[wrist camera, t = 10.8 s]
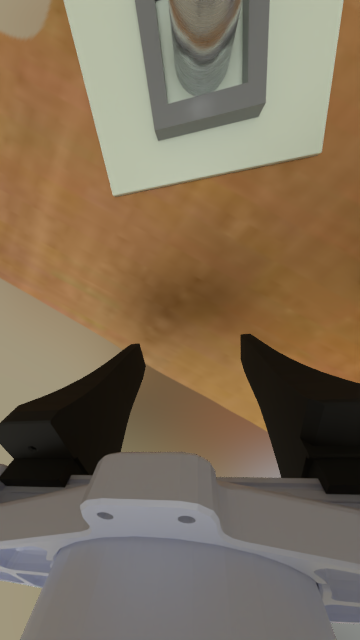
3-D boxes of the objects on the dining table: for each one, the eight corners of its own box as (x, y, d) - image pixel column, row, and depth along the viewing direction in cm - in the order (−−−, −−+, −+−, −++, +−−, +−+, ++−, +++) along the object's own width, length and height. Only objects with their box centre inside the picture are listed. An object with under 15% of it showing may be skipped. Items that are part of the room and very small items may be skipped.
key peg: (229, -2, 11) (263, -228, 6) (232, 87, 13) (261, -24, 7) (169, 21, 12) (149, -167, 6) (179, 104, 13) (170, 11, 8)
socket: (366, -202, 9) (411, -318, 7) (317, 155, 14) (335, 142, 13) (50, -65, 11) (21, -125, 9) (115, 196, 17) (105, 191, 15)
